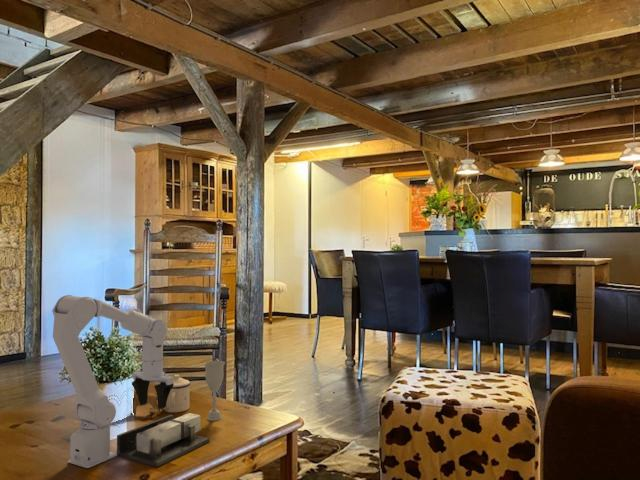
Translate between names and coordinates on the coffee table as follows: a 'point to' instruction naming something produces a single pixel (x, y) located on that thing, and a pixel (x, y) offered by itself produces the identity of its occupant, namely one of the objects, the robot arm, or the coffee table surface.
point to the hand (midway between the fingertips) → (152, 406)
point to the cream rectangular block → (167, 432)
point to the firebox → (157, 445)
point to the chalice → (214, 384)
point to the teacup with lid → (178, 396)
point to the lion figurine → (150, 399)
